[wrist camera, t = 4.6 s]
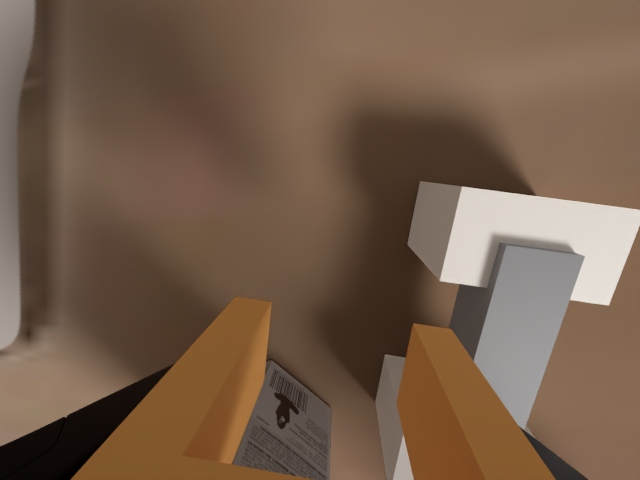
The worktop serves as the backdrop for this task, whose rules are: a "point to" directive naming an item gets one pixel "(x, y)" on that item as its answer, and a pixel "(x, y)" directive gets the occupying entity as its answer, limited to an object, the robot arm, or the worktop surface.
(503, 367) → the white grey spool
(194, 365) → the orange u-channel
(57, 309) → the worktop surface
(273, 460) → the coffee box
